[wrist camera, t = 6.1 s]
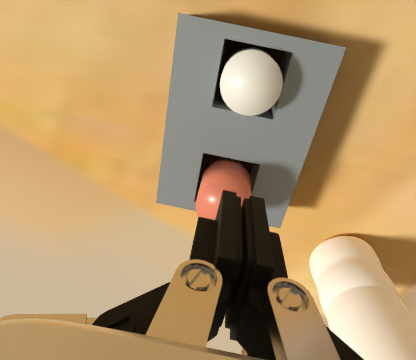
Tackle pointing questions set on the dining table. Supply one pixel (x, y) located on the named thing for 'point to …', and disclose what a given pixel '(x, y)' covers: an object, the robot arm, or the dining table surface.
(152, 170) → the dining table surface
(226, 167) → the red plug
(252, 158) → the panel
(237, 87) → the domed peg
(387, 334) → the water bottle
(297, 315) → the robot arm
